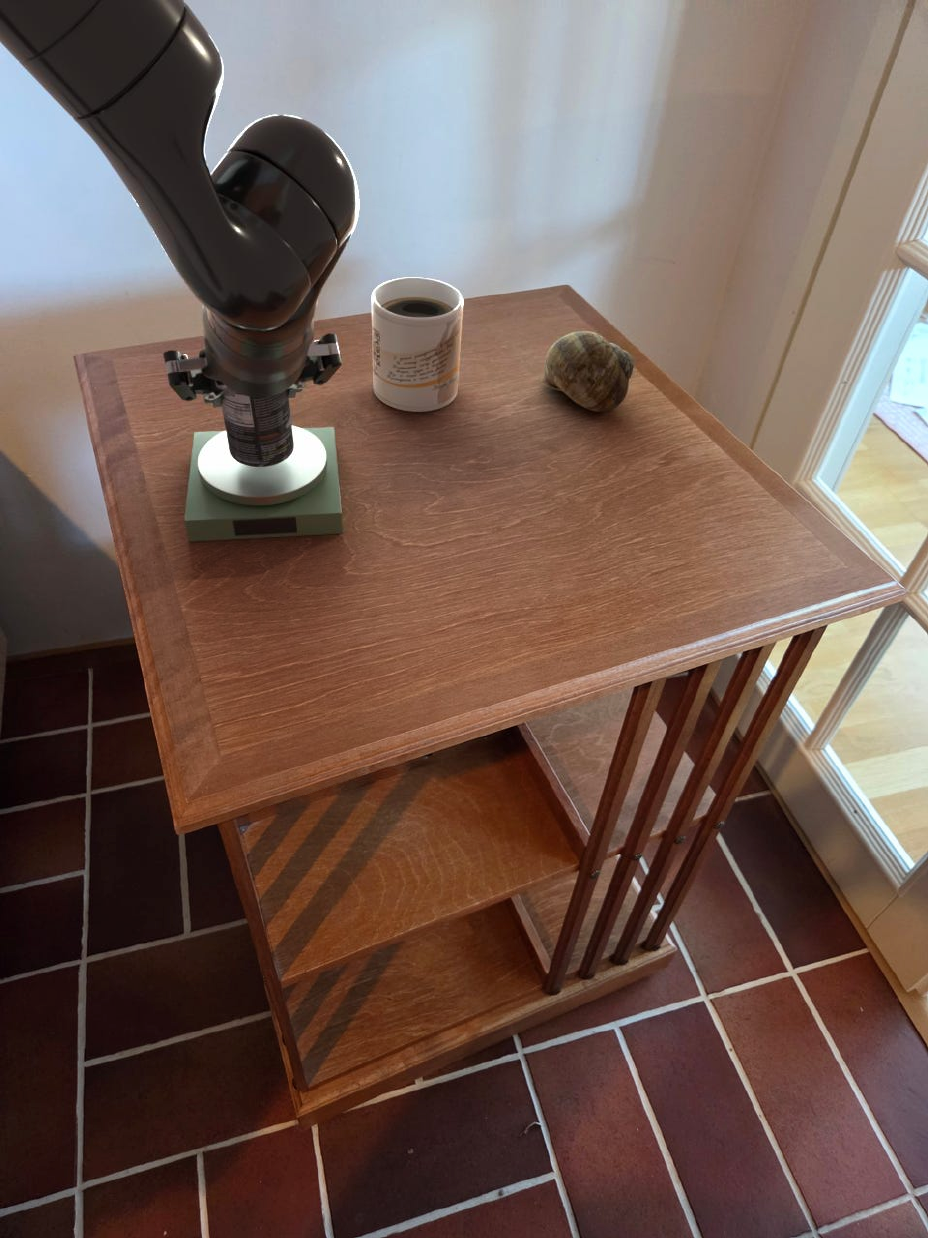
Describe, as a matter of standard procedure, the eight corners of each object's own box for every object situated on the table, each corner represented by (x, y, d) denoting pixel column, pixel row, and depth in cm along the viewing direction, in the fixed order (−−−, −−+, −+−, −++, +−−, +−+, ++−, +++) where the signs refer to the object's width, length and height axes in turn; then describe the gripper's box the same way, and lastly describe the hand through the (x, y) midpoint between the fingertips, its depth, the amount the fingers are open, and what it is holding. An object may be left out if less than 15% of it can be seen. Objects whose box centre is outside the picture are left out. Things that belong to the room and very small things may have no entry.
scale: (188, 542, 76) (180, 508, 73) (198, 452, 85) (191, 418, 82) (343, 534, 78) (341, 500, 75) (335, 447, 88) (333, 414, 85)
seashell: (638, 419, 95) (654, 355, 89) (562, 428, 93) (573, 363, 87) (599, 369, 102) (611, 306, 96) (528, 376, 100) (536, 313, 94)
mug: (353, 398, 94) (349, 304, 86) (396, 350, 102) (396, 260, 94) (439, 420, 92) (443, 326, 84) (476, 370, 100) (483, 280, 92)
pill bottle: (288, 429, 81) (277, 318, 73) (299, 464, 77) (288, 351, 69) (225, 437, 79) (206, 324, 71) (233, 473, 75) (214, 358, 67)
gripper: (346, 268, 61) (321, 341, 77) (141, 286, 57) (161, 359, 73) (366, 370, 61) (337, 422, 78) (164, 394, 58) (178, 443, 74)
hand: (251, 391), depth 75 cm, fingers closed on pill bottle, 6 cm apart
